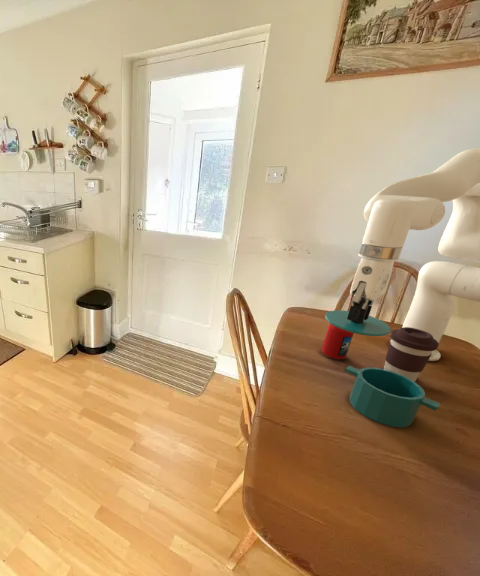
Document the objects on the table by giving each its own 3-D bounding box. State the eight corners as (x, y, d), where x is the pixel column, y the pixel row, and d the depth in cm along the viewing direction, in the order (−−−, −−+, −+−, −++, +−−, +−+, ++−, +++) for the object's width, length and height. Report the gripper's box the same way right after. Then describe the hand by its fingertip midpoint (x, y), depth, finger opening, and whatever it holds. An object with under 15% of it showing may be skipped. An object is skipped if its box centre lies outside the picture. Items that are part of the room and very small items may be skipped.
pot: (349, 381, 92) (357, 357, 89) (433, 420, 78) (447, 393, 75) (329, 398, 86) (338, 372, 83) (417, 443, 72) (432, 414, 69)
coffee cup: (430, 388, 89) (451, 343, 84) (390, 384, 91) (408, 339, 86) (406, 368, 98) (423, 326, 93) (370, 364, 100) (385, 323, 95)
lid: (336, 310, 92) (342, 290, 89) (397, 328, 81) (405, 306, 79) (315, 322, 85) (320, 301, 82) (378, 344, 74) (386, 320, 72)
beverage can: (346, 363, 101) (357, 330, 96) (321, 357, 104) (330, 325, 100) (344, 353, 106) (354, 322, 102) (320, 347, 110) (329, 317, 105)
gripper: (387, 260, 68) (362, 334, 75) (410, 249, 77) (386, 316, 83) (347, 253, 74) (327, 322, 81) (372, 244, 83) (352, 307, 89)
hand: (357, 318), depth 82 cm, fingers closed on lid, 2 cm apart
